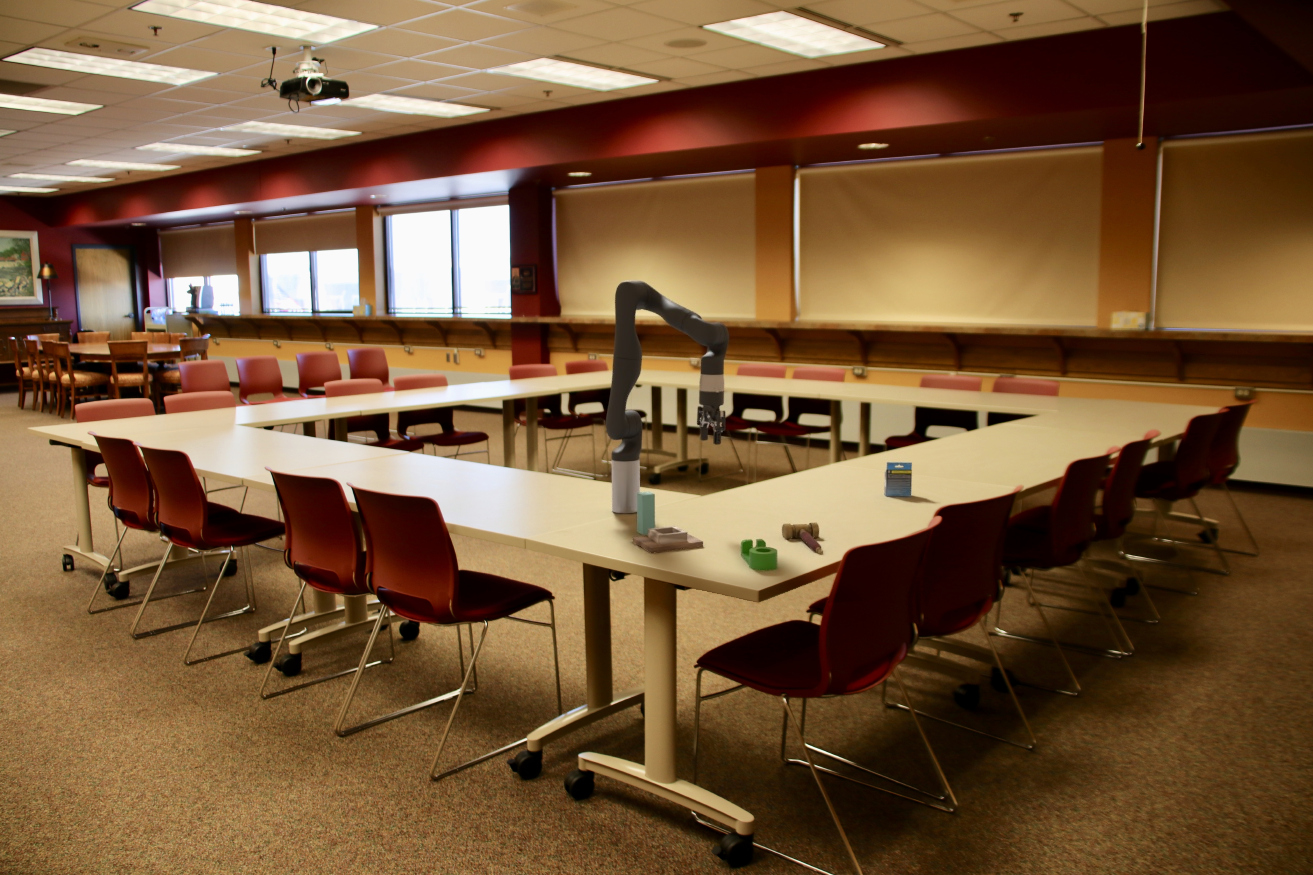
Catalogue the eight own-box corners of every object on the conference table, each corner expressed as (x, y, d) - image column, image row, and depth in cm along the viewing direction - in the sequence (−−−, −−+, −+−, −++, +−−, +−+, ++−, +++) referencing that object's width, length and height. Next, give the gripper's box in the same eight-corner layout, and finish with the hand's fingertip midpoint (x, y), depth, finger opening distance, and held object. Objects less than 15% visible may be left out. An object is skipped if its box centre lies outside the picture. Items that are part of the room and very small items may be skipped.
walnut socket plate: (632, 542, 258) (632, 528, 258) (682, 536, 265) (682, 522, 264) (651, 553, 246) (651, 538, 246) (703, 546, 253) (703, 532, 252)
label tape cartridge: (909, 494, 321) (910, 460, 320) (911, 497, 318) (912, 462, 316) (883, 494, 322) (884, 460, 321) (885, 496, 318) (886, 462, 317)
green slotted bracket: (780, 571, 230) (780, 553, 229) (753, 572, 229) (753, 554, 229) (765, 555, 245) (765, 538, 244) (739, 556, 244) (739, 539, 243)
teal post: (637, 532, 270) (636, 492, 268) (649, 530, 272) (649, 491, 270) (642, 534, 266) (642, 495, 265) (655, 533, 268) (654, 493, 266)
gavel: (838, 543, 245) (802, 544, 243) (837, 559, 246) (802, 560, 244) (815, 520, 265) (781, 521, 264) (814, 535, 266) (781, 536, 265)
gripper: (690, 387, 277) (689, 439, 279) (711, 391, 264) (710, 446, 266) (711, 387, 280) (710, 438, 282) (734, 391, 267) (732, 445, 270)
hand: (710, 442), depth 274 cm, fingers open, 8 cm apart
